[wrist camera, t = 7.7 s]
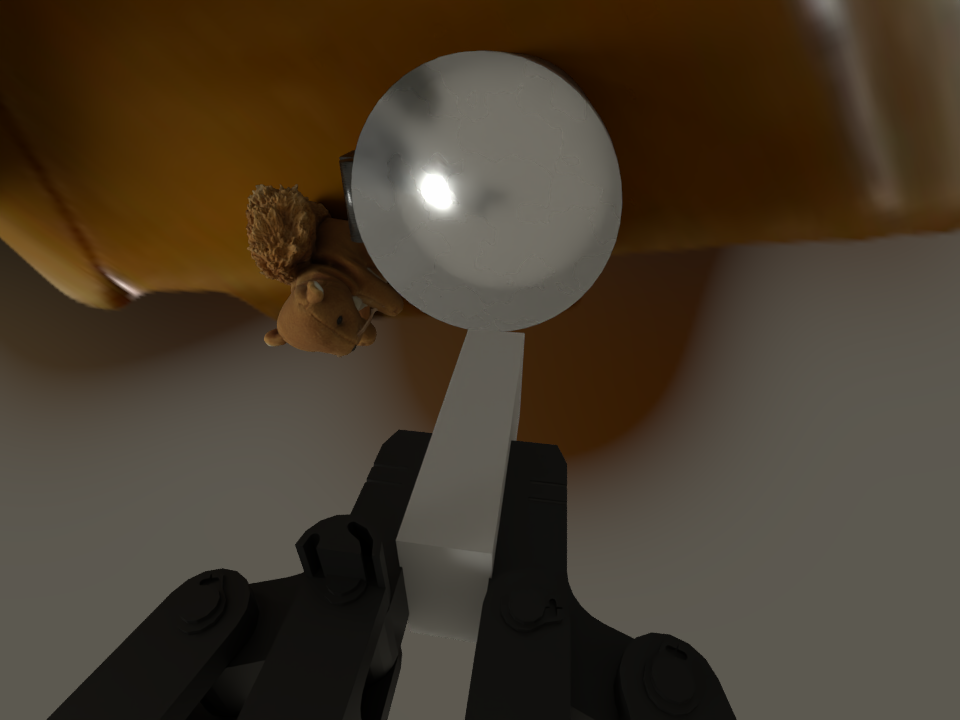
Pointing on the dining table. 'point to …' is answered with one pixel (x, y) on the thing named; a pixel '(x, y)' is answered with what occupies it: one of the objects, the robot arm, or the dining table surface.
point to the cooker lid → (485, 190)
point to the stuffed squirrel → (316, 273)
